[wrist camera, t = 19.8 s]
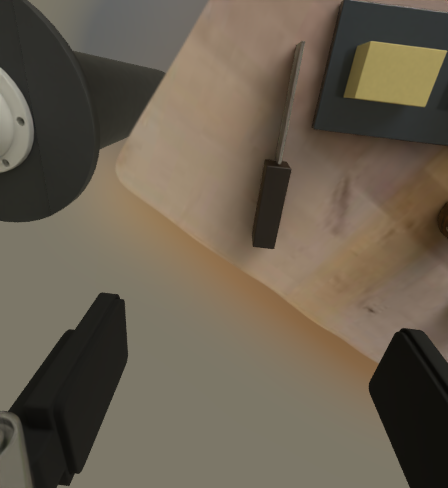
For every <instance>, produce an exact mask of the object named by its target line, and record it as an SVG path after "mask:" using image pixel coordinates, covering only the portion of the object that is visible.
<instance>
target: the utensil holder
mask: <svg viewBox="0 0 448 488" xmlns="http://www.w3.org/2000/svg"><path fill="white" fill-rule="evenodd" d="M438 225H439V229H440V231H441V232H442V233H443V234H444V235H445V236H446V237H447V238H448V203H447V204H446V205H445V206H444V207H443V209H442V210H441V212H440V215H439V218H438Z"/></svg>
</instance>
